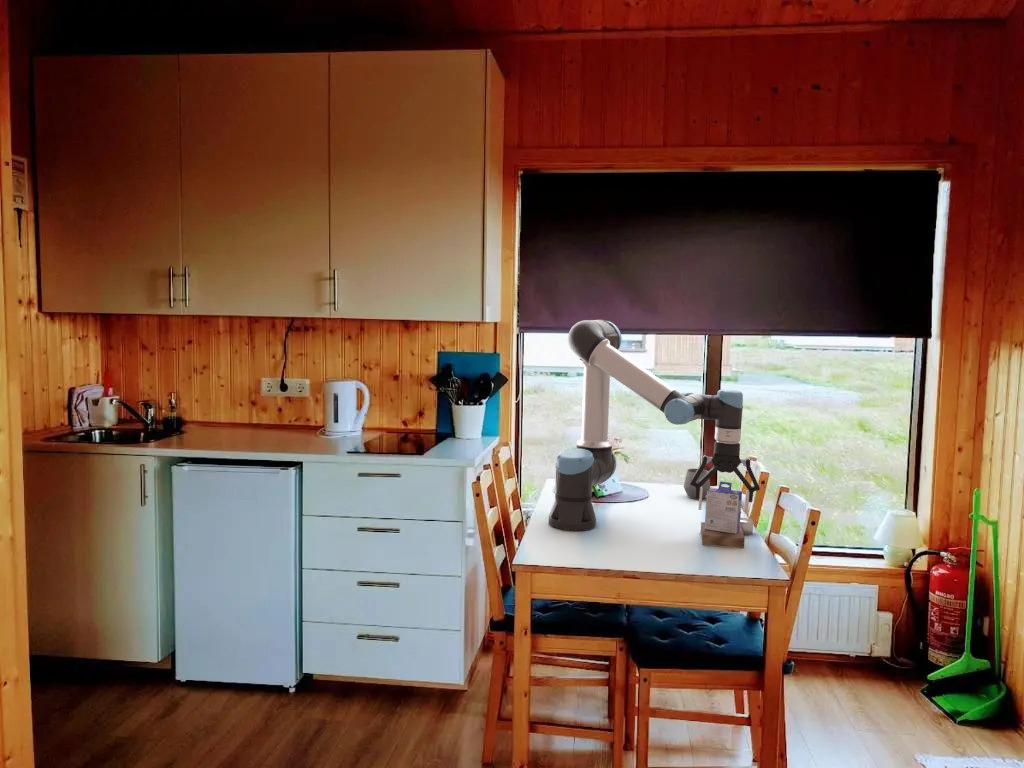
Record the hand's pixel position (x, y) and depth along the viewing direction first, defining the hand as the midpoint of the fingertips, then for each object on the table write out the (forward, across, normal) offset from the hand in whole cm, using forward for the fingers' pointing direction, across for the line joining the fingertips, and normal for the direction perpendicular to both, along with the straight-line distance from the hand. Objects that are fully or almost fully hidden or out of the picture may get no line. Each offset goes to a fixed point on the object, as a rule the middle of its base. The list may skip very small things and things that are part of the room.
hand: (722, 510), depth 243 cm
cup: (+9, -6, +52) cm, 53 cm away
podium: (+9, 0, 0) cm, 9 cm away
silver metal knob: (+9, +7, +10) cm, 15 cm away
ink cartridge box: (+6, 0, 0) cm, 6 cm away
